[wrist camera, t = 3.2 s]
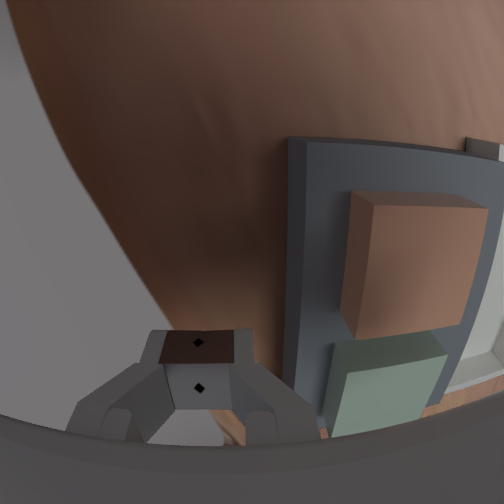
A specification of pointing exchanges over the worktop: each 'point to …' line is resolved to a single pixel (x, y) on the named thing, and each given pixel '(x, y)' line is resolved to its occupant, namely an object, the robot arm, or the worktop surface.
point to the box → (485, 307)
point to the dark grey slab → (336, 236)
